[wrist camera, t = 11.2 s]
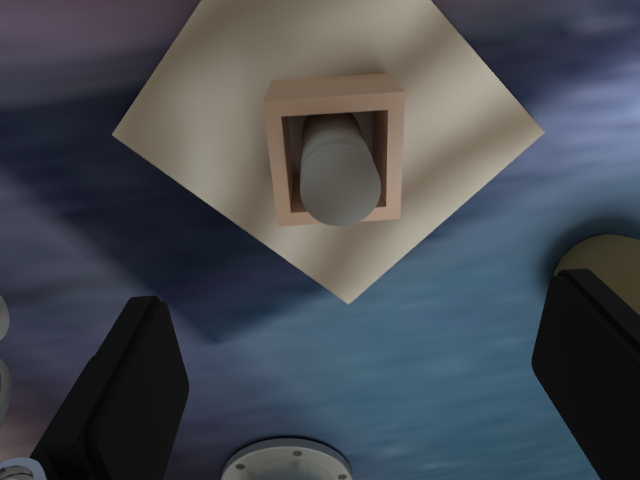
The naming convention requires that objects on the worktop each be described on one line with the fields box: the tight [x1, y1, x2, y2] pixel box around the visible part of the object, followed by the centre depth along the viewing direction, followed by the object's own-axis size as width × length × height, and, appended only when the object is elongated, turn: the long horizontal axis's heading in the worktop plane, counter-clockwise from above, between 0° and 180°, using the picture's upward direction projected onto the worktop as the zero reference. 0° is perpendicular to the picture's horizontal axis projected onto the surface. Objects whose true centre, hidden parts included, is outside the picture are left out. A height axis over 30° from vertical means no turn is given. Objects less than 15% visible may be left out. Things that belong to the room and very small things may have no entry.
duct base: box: [112, 0, 545, 304], centre depth 21 cm, size 18×16×10 cm
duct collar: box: [263, 73, 405, 227], centre depth 22 cm, size 6×6×5 cm
